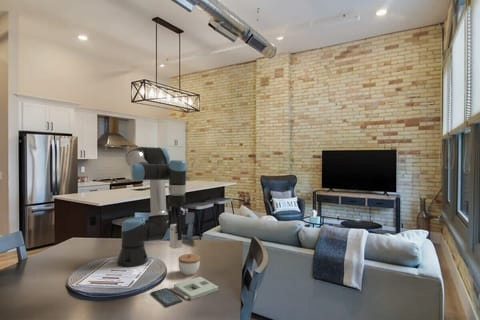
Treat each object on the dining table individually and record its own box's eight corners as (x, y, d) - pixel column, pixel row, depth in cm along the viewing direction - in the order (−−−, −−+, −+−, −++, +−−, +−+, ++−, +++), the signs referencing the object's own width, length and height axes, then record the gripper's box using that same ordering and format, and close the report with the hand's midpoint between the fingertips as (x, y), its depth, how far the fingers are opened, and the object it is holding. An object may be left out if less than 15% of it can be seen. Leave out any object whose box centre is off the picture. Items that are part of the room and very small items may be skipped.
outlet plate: (174, 287, 130) (174, 284, 130) (200, 279, 139) (200, 276, 139) (191, 300, 119) (191, 296, 119) (218, 290, 129) (218, 286, 129)
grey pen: (167, 289, 128) (167, 287, 128) (169, 288, 129) (169, 286, 129) (186, 299, 119) (186, 297, 119) (188, 298, 120) (188, 296, 120)
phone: (150, 295, 123) (150, 292, 123) (165, 290, 128) (165, 287, 128) (166, 308, 113) (166, 305, 113) (182, 303, 118) (182, 300, 118)
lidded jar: (178, 278, 140) (179, 258, 140) (177, 269, 150) (177, 251, 150) (201, 276, 143) (201, 257, 143) (198, 268, 153) (198, 250, 153)
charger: (169, 246, 133) (169, 224, 133) (177, 245, 135) (177, 223, 136) (173, 248, 130) (174, 226, 130) (181, 247, 132) (182, 225, 133)
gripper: (160, 192, 137) (159, 243, 137) (179, 196, 124) (177, 252, 124) (175, 192, 142) (174, 240, 142) (194, 195, 129) (193, 249, 129)
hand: (175, 245), depth 133 cm, fingers closed on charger, 4 cm apart
